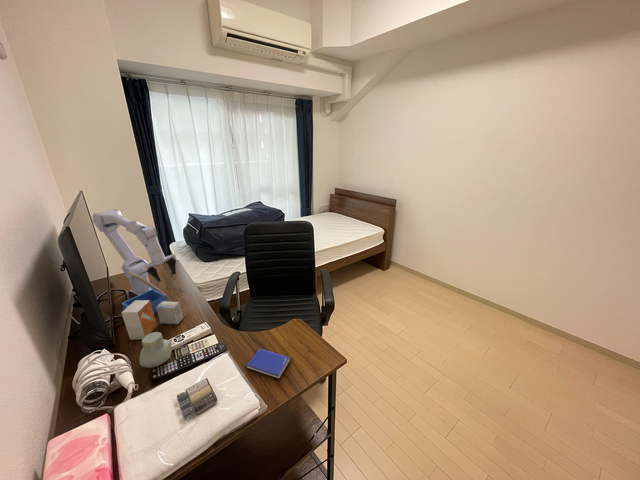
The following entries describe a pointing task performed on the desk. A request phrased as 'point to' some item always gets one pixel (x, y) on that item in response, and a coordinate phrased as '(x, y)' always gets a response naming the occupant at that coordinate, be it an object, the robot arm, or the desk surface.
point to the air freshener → (154, 350)
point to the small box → (139, 319)
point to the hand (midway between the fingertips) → (167, 277)
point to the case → (150, 295)
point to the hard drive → (268, 363)
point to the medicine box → (169, 312)
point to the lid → (147, 283)
